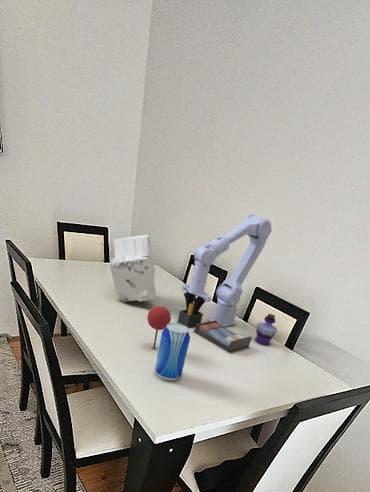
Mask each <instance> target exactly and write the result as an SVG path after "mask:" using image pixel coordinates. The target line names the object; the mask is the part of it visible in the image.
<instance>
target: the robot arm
mask: <svg viewBox="0 0 370 492" xmlns="http://www.w3.org/2000/svg"><path fill="white" fill-rule="evenodd" d="M272 230H273V229H272V222H271V221H270V220H269V219H265V218H262V217H261V216H257V215H255V214H249V215H248V216H247V217H244V218H243V220H242V222H241V223H240V224H239V225H237V226H236V227H235V228H233V229H232V230H231V231H229V232H228V233H227V234H226V235H217V236H216V237H215V238H214V239H213V240H211V241H210V242H209V243H206V244H205V245H204V246H203V245H202V246H199V247H197V248H196V250H195V252H193V258H194V266H193V267H194V268H193V272H192V276H191V281H190V285H189V284H186V283H183V284H182V285H181V290H184V291H185V292H184V293H183V296H184V299H185V300H184V301H185V310H186V311H188V308H189V304H190V303H194V308H193V315H196V314H197V313H198V311H199V312H200V310H201V309H202V306H203V305H204V304H205V303H210V302H211V300H212V297H211V295H209V294H207V293H206V292H205V288H206V285H207V279H208V276H209V272H210V267H211V265H213V264H214V263H215V261H216V260H217V258H218V257H219V256H220V255H222V254H223V253H225V252H226V251H228V250H229V248H230V245H231V244H233V243H235V242H236V241H238V240H240V239H241V238H243V237H245V236H248V238H249V245H248V247H247V248H246V250H245V252H244V253H243V255H242V257H241V258H240V260H239V262H238V263H237V265H236V267H235V268H234V270H233V272H232V274H231V276H230V277H229V278H227V279H225V280H223V282H222V283H221V284H220V285H219V286H218V287H217V289H216V291H215V295H216V297H217V298H216V300H217V303H216V306H215V309H214V313H213V317H210V318H208V321H214V320H216V321H217V323H219V324H221V325H222V326H223V327H224V328H226V327H228V326H234V325H235V318H236V316H237V311H238V307H237V304H238V303H239V302H240V300H241V296H242V294H243V291H244V290H243V287H242V284H243V283H244V282H245V279H246V278H247V276H248V274H250V271H251V270H252V268H253V266H254V265H255V263H256V261H257V259H258V258H259V256H260V254H261V253H262V252H263V250H264V248H265V246H266V243H267V240H268V238H269V236H270V235H271V233H272Z"/></svg>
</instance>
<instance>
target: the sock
mask: <svg viewBox="0 0 370 492" xmlns="http://www.w3.org/2000/svg"><path fill="white" fill-rule="evenodd" d="M193 308H194V302H193V303H190V304H189V308H188V313H187V314H188V315H193Z"/></svg>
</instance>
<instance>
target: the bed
mask: <svg viewBox="0 0 370 492" xmlns="http://www.w3.org/2000/svg"><path fill="white" fill-rule="evenodd" d="M194 327H195V328H194V333H196V334H197V335H199V336H201V337H202V338H204V339H205V340H208V341H209V342H211V343H213V344H214V345H215V346H218V347H220V348H221V349H222V350H224V351H226V352H228V353H229V354H232V353H234V352H238V351H241V350H245V349H248V348H249V347H250V344H251V342H252V336H250V335H249V336H243V335H241V334H239V333H238V334H236V333H235V332H233V331H231V330H229V329H228V328H226V327H223V326H222V325H221V324H219V323H217V321H216V320H214V321H210V320H208V321H204V322H201V323H198V324H196V326H194Z"/></svg>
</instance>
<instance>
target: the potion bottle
mask: <svg viewBox="0 0 370 492" xmlns="http://www.w3.org/2000/svg"><path fill="white" fill-rule="evenodd" d="M263 320H264V322H258V323H257V326H256V329H255V332H256V339H255V342H256V343H257V344H259V345H262V346H268V345H269V344H270V342H271V341H272V339H273V337H275V335H276V334H277V332H278V331H279V330H278V329H277V326H275V325H273V324H275V323H276V316H275V315H274V314H273V313H268V314H267V315H265V316H264V318H263Z"/></svg>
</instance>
